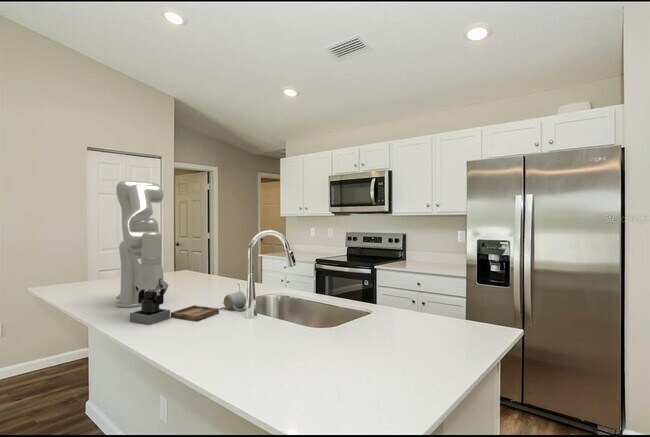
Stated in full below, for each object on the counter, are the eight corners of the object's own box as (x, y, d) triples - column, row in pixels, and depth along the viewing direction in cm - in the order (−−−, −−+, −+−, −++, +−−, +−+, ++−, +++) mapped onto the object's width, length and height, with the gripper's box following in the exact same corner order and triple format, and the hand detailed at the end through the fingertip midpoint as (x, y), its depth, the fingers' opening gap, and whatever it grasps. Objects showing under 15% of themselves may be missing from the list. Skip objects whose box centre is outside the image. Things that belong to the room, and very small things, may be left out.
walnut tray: (170, 317, 151) (170, 312, 151) (193, 310, 164) (193, 305, 164) (197, 321, 146) (197, 316, 146) (218, 313, 159) (218, 308, 159)
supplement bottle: (136, 321, 145) (137, 291, 145) (150, 317, 151) (151, 288, 151) (149, 323, 142) (149, 293, 142) (163, 318, 149) (163, 290, 149)
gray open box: (129, 321, 144) (129, 313, 144) (150, 315, 154) (150, 307, 154) (149, 324, 140) (149, 316, 140) (169, 318, 150) (170, 309, 150)
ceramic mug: (222, 308, 167) (222, 292, 167) (237, 305, 173) (237, 290, 173) (235, 313, 160) (236, 296, 160) (250, 310, 166) (250, 293, 166)
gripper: (128, 262, 146) (127, 303, 146) (160, 263, 140) (159, 307, 140) (143, 260, 153) (142, 300, 153) (174, 261, 147) (174, 303, 147)
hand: (150, 303), depth 146 cm, fingers open, 9 cm apart
